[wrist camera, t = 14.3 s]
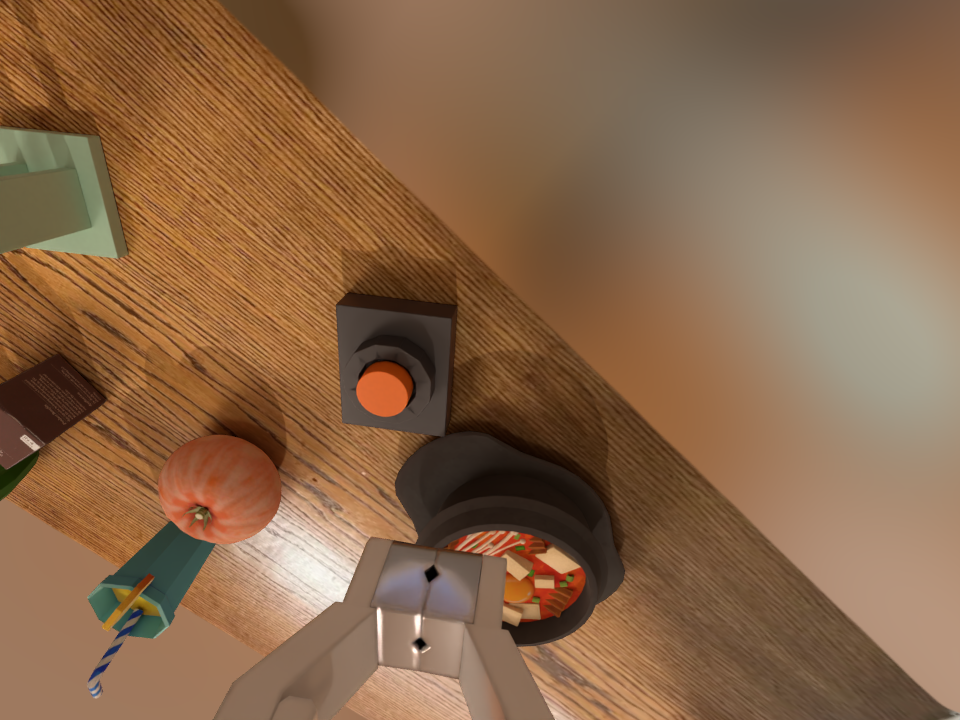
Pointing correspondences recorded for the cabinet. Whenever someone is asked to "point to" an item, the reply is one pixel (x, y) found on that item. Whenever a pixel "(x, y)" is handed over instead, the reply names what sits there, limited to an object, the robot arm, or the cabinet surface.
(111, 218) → the lever stand
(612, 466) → the cabinet surface
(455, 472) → the casserole
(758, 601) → the cabinet surface
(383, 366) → the button
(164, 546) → the cup
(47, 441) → the box
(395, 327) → the button housing
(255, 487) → the tomato
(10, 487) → the bell pepper
